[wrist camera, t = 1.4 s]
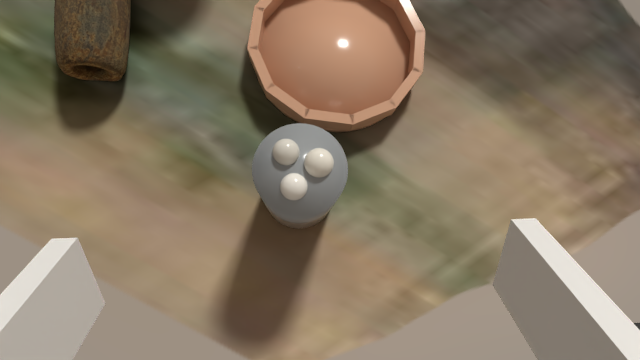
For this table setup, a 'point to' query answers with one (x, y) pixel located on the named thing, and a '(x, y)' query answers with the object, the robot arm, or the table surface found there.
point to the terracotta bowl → (336, 58)
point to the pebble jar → (299, 174)
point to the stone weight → (92, 38)
